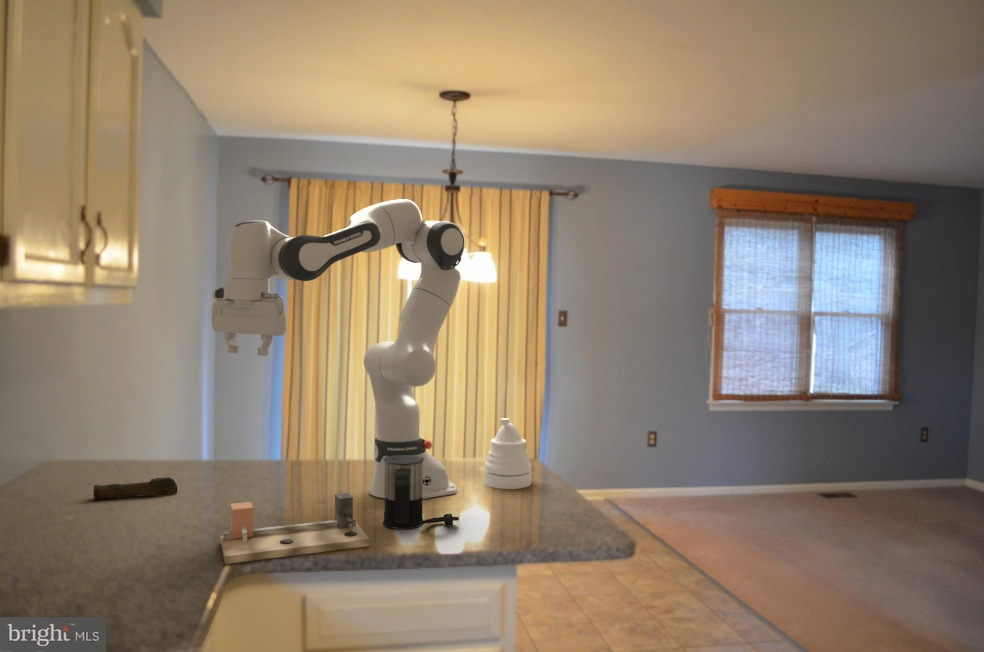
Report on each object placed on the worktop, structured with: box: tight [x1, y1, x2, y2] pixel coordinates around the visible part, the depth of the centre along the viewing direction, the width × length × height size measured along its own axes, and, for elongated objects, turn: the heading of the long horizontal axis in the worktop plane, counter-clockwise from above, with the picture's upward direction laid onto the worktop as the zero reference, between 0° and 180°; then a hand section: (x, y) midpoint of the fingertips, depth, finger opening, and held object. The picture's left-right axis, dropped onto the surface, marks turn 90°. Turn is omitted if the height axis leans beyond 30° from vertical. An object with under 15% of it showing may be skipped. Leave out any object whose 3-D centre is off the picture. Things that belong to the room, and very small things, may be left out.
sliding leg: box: [230, 501, 254, 544], centre depth 152 cm, size 4×9×6 cm, turn 24°
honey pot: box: [483, 417, 532, 490], centre depth 207 cm, size 13×13×18 cm
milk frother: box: [382, 455, 460, 530], centre depth 169 cm, size 14×16×15 cm
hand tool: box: [93, 476, 178, 501], centre depth 189 cm, size 19×4×5 cm, turn 107°
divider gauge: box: [219, 492, 370, 565], centre depth 155 cm, size 28×13×8 cm, turn 114°
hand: (247, 354), depth 169 cm, fingers open, 8 cm apart
